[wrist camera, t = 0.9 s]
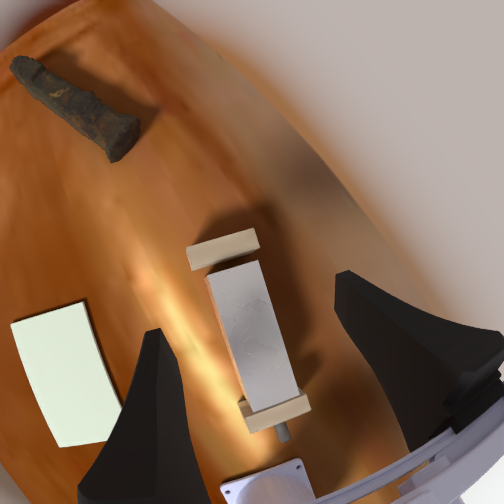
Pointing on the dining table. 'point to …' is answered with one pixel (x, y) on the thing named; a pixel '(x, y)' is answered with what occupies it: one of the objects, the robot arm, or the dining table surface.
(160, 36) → the dining table surface
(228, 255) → the blocks
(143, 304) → the dining table surface
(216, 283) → the steel bar
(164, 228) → the dining table surface
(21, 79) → the hand tool
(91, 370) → the mat
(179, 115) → the dining table surface
